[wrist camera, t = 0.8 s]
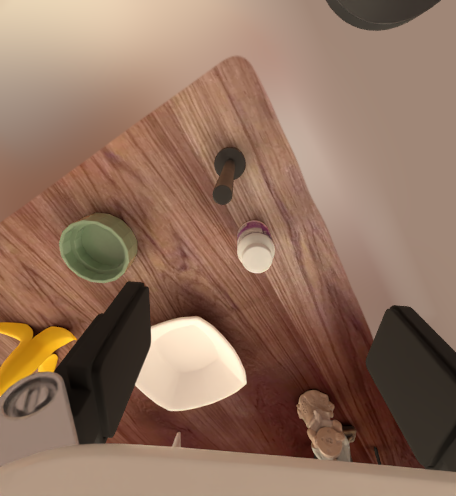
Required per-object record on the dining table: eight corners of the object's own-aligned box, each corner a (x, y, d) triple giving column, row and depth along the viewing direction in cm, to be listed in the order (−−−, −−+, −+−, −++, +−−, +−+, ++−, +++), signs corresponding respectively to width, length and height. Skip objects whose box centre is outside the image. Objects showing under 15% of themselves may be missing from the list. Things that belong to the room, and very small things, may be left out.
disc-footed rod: (216, 145, 38) (192, 159, 17) (246, 148, 38) (257, 166, 17) (214, 176, 39) (189, 221, 19) (243, 179, 39) (249, 227, 19)
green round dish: (71, 208, 42) (54, 216, 38) (137, 215, 42) (126, 224, 38) (80, 266, 46) (65, 279, 42) (139, 272, 46) (130, 286, 42)
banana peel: (50, 379, 58) (-16, 466, 43) (-12, 316, 52) (-118, 393, 36) (111, 358, 55) (62, 444, 40) (52, 288, 48) (-33, 359, 33)
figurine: (337, 409, 59) (381, 532, 41) (301, 417, 61) (328, 539, 42) (327, 383, 56) (371, 504, 38) (289, 392, 58) (314, 513, 39)
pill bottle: (272, 245, 44) (281, 273, 35) (241, 252, 44) (242, 282, 35) (265, 215, 41) (273, 237, 33) (233, 223, 42) (232, 247, 33)
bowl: (205, 287, 47) (202, 304, 42) (258, 365, 55) (260, 387, 50) (113, 330, 52) (100, 350, 47) (172, 396, 59) (167, 419, 55)
